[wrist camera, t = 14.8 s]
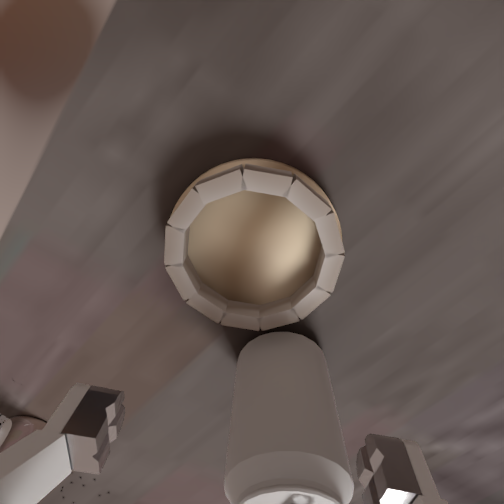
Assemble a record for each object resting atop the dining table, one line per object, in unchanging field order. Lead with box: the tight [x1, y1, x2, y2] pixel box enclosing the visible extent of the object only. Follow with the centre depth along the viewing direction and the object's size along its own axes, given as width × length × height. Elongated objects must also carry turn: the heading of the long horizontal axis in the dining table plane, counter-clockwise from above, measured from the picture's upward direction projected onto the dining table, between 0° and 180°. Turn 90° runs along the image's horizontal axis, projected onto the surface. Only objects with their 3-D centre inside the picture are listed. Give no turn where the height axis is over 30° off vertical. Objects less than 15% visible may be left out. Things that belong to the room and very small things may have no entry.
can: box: [224, 332, 354, 504], centre depth 22 cm, size 8×8×12 cm
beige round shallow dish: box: [164, 158, 345, 331], centre depth 22 cm, size 12×12×2 cm
